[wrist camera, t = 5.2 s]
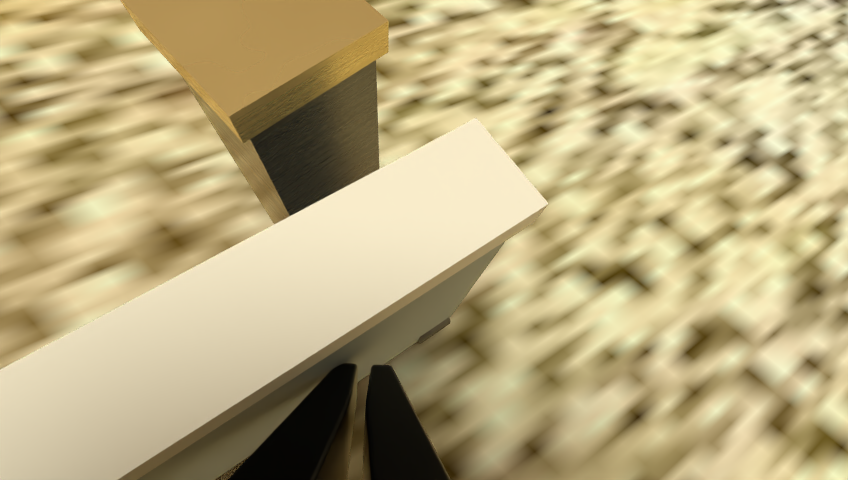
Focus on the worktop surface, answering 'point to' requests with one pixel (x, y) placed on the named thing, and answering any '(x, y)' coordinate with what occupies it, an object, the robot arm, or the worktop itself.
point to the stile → (280, 87)
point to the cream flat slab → (265, 322)
